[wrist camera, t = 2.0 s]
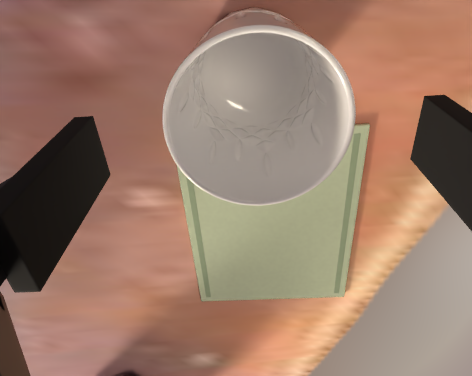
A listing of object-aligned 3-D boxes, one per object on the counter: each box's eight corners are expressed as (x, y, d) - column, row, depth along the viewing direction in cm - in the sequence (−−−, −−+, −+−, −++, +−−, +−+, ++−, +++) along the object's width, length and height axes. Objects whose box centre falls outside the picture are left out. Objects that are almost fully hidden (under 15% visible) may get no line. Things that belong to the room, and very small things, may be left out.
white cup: (329, 94, 24) (375, 170, 16) (224, 138, 26) (215, 227, 18) (289, -30, 20) (322, -18, 12) (168, 32, 22) (123, 82, 14)
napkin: (171, 133, 26) (171, 135, 26) (368, 123, 25) (370, 125, 25) (201, 298, 36) (201, 301, 35) (343, 294, 35) (344, 297, 35)
